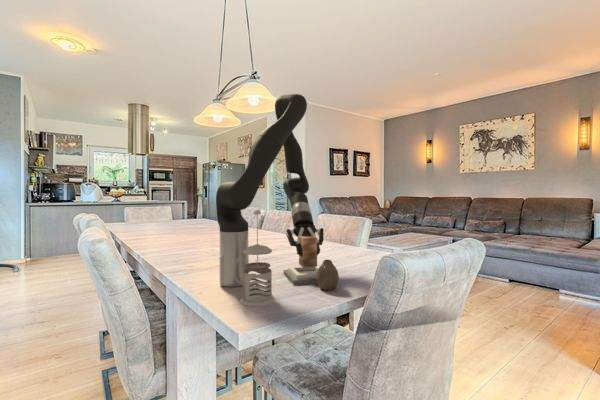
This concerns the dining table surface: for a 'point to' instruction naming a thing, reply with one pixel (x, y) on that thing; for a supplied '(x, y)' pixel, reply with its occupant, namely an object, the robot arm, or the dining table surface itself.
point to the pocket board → (301, 275)
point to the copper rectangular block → (308, 251)
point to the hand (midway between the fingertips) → (309, 254)
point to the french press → (256, 276)
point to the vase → (327, 275)
